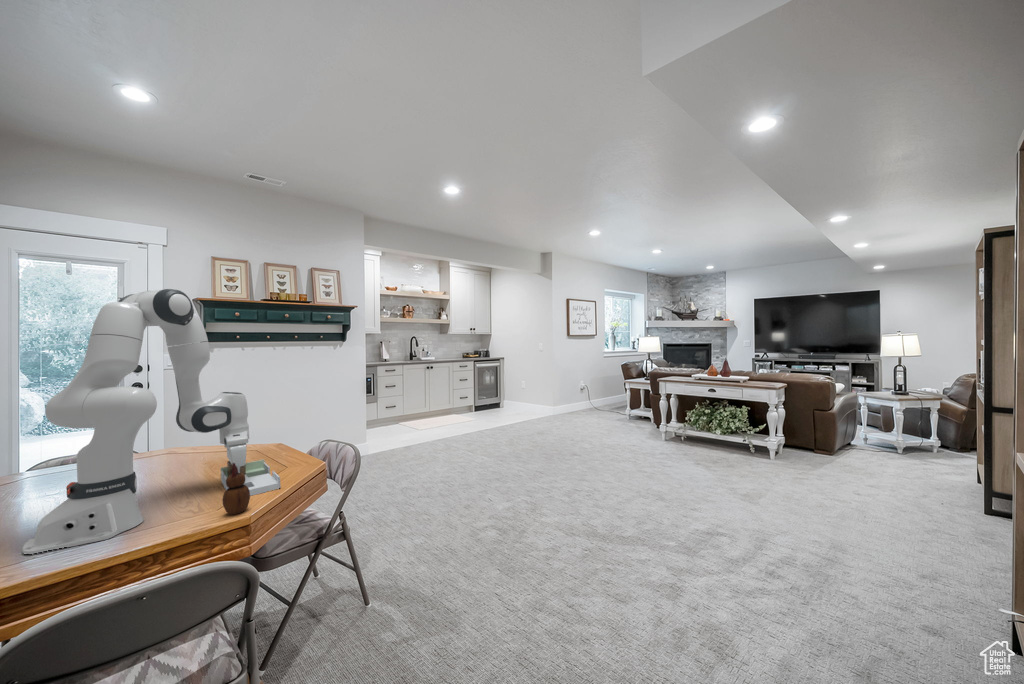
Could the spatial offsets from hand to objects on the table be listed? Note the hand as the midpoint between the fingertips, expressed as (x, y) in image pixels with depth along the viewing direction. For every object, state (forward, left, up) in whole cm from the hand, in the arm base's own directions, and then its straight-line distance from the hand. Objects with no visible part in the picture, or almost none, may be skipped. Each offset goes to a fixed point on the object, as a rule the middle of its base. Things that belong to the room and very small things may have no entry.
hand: (236, 474), depth 150 cm
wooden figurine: (-4, -33, -3) cm, 34 cm away
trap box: (+3, -6, -3) cm, 8 cm away
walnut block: (+1, +5, -1) cm, 5 cm away
